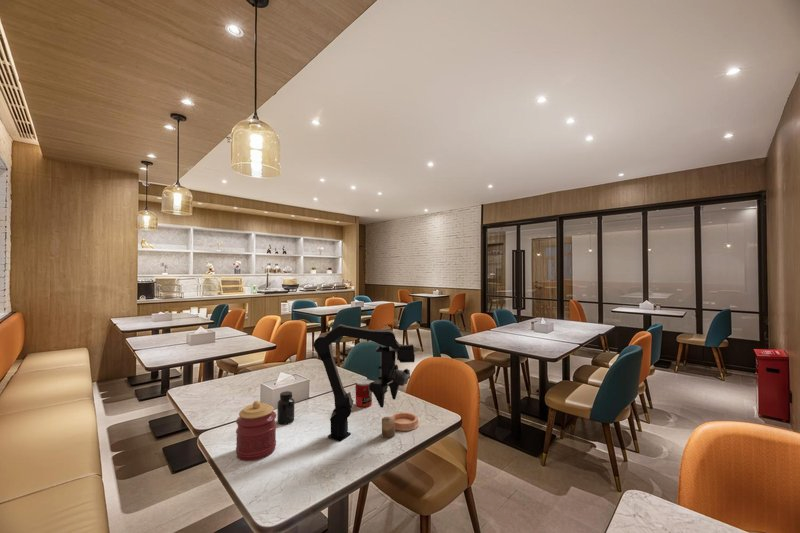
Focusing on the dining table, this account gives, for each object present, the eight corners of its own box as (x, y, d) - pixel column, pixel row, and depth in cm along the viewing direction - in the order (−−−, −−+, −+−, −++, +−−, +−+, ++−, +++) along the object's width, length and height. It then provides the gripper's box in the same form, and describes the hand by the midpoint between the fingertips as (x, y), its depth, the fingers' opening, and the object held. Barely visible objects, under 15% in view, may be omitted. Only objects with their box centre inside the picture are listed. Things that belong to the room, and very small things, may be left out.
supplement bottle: (273, 423, 140) (273, 394, 140) (286, 417, 146) (286, 389, 146) (285, 426, 137) (285, 396, 137) (297, 420, 143) (298, 391, 143)
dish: (410, 433, 130) (410, 426, 130) (384, 426, 136) (384, 420, 136) (423, 421, 140) (423, 415, 141) (398, 416, 146) (398, 410, 146)
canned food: (364, 409, 154) (364, 385, 154) (352, 405, 159) (352, 381, 159) (375, 404, 160) (375, 381, 160) (363, 400, 165) (363, 378, 165)
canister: (264, 439, 126) (264, 391, 127) (283, 450, 118) (283, 399, 119) (228, 453, 116) (229, 402, 117) (246, 466, 108) (247, 411, 109)
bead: (390, 439, 126) (390, 423, 126) (379, 436, 128) (379, 420, 128) (397, 433, 130) (397, 418, 130) (386, 430, 133) (386, 415, 133)
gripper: (394, 371, 118) (394, 416, 118) (417, 359, 134) (417, 399, 134) (367, 367, 123) (367, 410, 123) (393, 356, 140) (393, 394, 139)
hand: (388, 403), depth 130 cm, fingers open, 9 cm apart
